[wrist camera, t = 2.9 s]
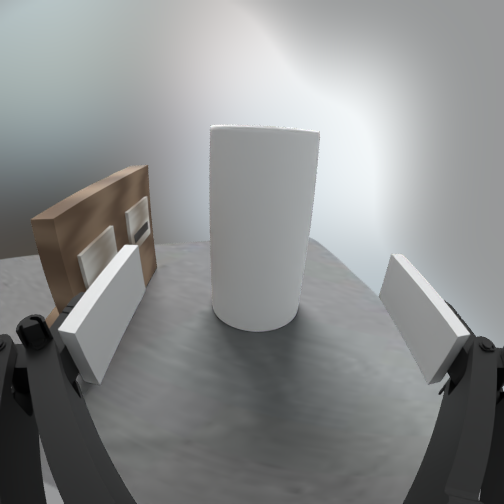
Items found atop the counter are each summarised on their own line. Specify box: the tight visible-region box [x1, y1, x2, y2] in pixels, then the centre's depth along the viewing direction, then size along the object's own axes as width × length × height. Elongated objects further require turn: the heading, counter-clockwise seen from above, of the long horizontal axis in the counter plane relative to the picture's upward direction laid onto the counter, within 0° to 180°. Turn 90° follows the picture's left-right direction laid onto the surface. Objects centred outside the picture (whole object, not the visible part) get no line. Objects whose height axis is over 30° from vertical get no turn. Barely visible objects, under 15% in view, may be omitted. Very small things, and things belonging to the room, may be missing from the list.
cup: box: [210, 125, 320, 332], centre depth 23 cm, size 8×8×16 cm
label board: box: [31, 165, 157, 328], centre depth 22 cm, size 16×8×12 cm, turn 0°
